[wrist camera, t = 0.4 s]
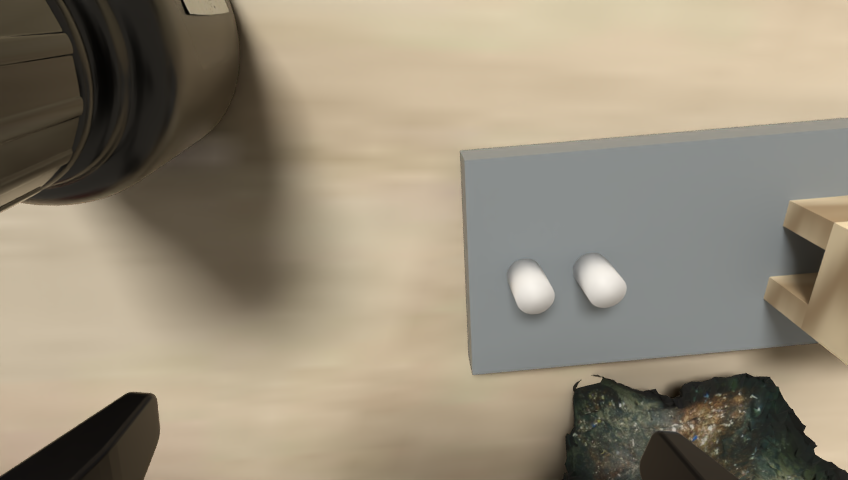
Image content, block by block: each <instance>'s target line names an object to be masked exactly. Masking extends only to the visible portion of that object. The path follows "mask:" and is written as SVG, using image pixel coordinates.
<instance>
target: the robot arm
mask: <svg viewBox="0 0 848 480" xmlns="http://www.w3.org/2000/svg"><path fill="white" fill-rule="evenodd" d="M159 435H160V423H159V414H158V404H157V398H156V396H155V395H154V394H152V393H141V392H129V393H127V394H125V395H123V396H122V397H120V398H118V399H117V400H115V401H114V402H112V403H111V404H109V405H108V406H106V407H105V408H103V409H102V410H100V411H99V412H97V413H96V414H94V415H93V416H91V417H90V418H88V419H87V420H85V421H84V422H82V423H80V424H79V425H77V426H76V427H74V428H73V429H71V430H70V431H68V432H67V433H65V434H64V435H62V436H61V437H59V438H58V439H56V440H55V441H53V442H52V443H50V444H49V445H47V446H45V447H44V448H42V449H41V450H39V451H38V452H36V453H35V454H33V455H32V456H30V457H29V458H27V459H26V460H24V461H23V462H21V463H20V464H18V465H17V466H15V467H14V468H12V469H10V470H9V471H7V472H6V473H4V474H3V475H1V476H0V480H144V477H145V475H146V472H147V470H148V467H149V464H150V462H151V459H152V457H153V454H154V451H155V449H156V446H157V443H158V440H159ZM639 470H640V475H641V479H642V480H740V479H739V478H737V477H736V476H735V475H733V474H732V473H731V472H729V471H728V470H727V469H726V468H724V467H723V466H722V465H720V464H719V463H718V462H716V461H715V460H714V459H713V458H711V457H710V456H709V455H707V454H706V453H705V452H703V451H702V450H701V449H700V448H698V447H697V446H696V445H694V444H693V443H692V442H690V441H689V440H688V439H687V438H685V437H684V436H683V435H681V434H680V433H678V432H675V431H663V430H658V431H655V432H654V433H653V434H652V435H651V437H650V440H649V442H648V444H647V446H646V448H645V450H644V453H643V455H642V457H641V459H640V464H639Z"/></svg>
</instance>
